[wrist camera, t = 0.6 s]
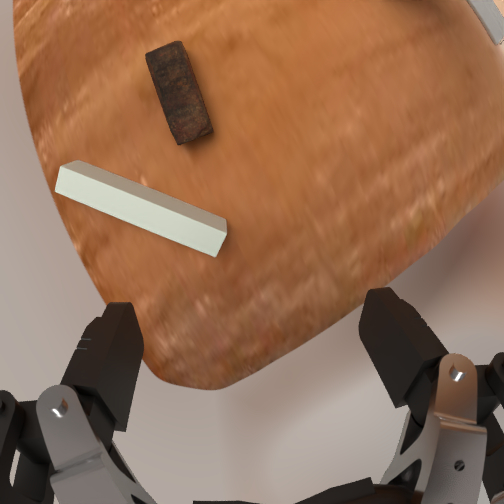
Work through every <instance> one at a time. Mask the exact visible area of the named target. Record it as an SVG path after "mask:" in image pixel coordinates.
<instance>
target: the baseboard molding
mask: <svg viewBox="0 0 504 504" xmlns="http://www.w3.org/2000/svg"><path fill="white" fill-rule="evenodd" d="M467 2H468V3H469V5H470V6H471V7H472V9H473V10H474V12H475V13H476V15H477V16H478V18H479V19H480V21H481V23H482V24H483V26H484V27H485V29H486V31H487V32H488V34H489V36H490V38H491V39H492V41H493V43H494V44H498V43H499V42H500V41H501V39H502V38H503V37H504V17H503V16H502V14H501V12H500V11H499V9H498V8H497V6H496V5H495V3H494V1H493V0H467ZM503 41H504V40H503ZM503 41H502V42H503ZM502 42H501V43H502Z"/></svg>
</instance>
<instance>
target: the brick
mask: <svg viewBox="0 0 504 504" xmlns="http://www.w3.org/2000/svg"><path fill="white" fill-rule="evenodd" d="M145 56H146V58H145V59H146V62H147V65H148V68H149V71H150V73H151V77H152V80H153V83H154V85H155V88H156V91H157V94H158V97H159V100H160V103H161V106H162V108H163V112H164V114H165V116H166V120H167V122H168V125H169V128H170V131H171V133H172V135H173V136H174V138H175V140H176V142H177V145H181V144H184V143H186V142H189V141H192V140H194V139H196V138H198V137H201V136H204V135H207V134H209V133H212V132H213V127H212V124H211V122H210V119H209V116H208V113H207V110H206V107H205V104H204V101H203V98H202V95H201V92H200V90H199V87H198V84H197V82H196V79H195V76H194V73H193V70H192V67H191V64H190V61H189V59H188V56H187V53H186V50H185V48H184V46H183V44H182V42H181V41H174V42H172V43H169V44H167V45H165V46H162V47H160V48H158V49H155V50H153V51H151V52H148V53H146V55H145Z"/></svg>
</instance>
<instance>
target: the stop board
mask: <svg viewBox="0 0 504 504" xmlns="http://www.w3.org/2000/svg"><path fill="white" fill-rule="evenodd" d="M55 192H57V193H59V194H62V195H64V196H66V197H69V198H71V199H73V200H76V201H78V202H81V203H83V204H85V205H88V206H90V207H92V208H95V209H97V210H100V211H102V212H104V213H107V214H109V215H112V216H114V217H117V218H119V219H121V220H124V221H126V222H129V223H131V224H134V225H136V226H139V227H141V228H143V229H146V230H148V231H151V232H153V233H156V234H158V235H161V236H163V237H166V238H168V239H171V240H173V241H176V242H178V243H181V244H183V245H186V246H188V247H191V248H193V249H196V250H198V251H201V252H203V253H206V254H209V255H211V256H214V257H216V256H217V253H218V251H219V249H220V247H221V245H222V243H223V241H224V239H225V237H226V235H227V224H226V219H224V218H222V217H219V216H217V215H215V214H212V213H210V212H207V211H205V210H203V209H200V208H198V207H195V206H193V205H191V204H188V203H186V202H183V201H181V200H178V199H176V198H173V197H171V196H169V195H166V194H164V193H161V192H159V191H156V190H154V189H151V188H149V187H146V186H144V185H141V184H139V183H136V182H134V181H131V180H129V179H126V178H124V177H121V176H119V175H116V174H114V173H111V172H109V171H106V170H104V169H101V168H98V167H96V166H93V165H91V164H88V163H86V162H83V161H80V160H76V161H73V162H71V163H68V164H65V165H62V166H60V170H59V175H58V179H57V183H56V188H55Z"/></svg>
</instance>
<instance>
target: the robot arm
mask: <svg viewBox="0 0 504 504" xmlns="http://www.w3.org/2000/svg"><path fill="white" fill-rule="evenodd" d="M359 335H360V339H361V341H362V343H363V345H364V346H365V348H366V350H367V352H368V354H369V356H370V358H371V360H372V362H373V364H374V366H375V368H376V370H377V372H378V374H379V376H380V378H381V380H382V382H383V383H384V386H385V388H386V390H387V392H388V394H389V396H390V398H391V400H392V402H393V404H394V406H395V408H398V407H402V406H405V405H408V407H409V409H410V410H409V411H408V413H407V415H406V419H405V423H404V426H403V430H402V433H401V437H400V440H399V443H398V446H397V449H396V452H395V456H394V458H393V460H392V462H391V464H390V466H389V467H388V469H387V470H386V472H385V473H384V475H383V477H382V479H381V481H380V484H373V483H372V480H371V477H368V478H365V479H362V480H359V481H355V482H352V483H348V484H345V485H341V486H336V487H333V488H330V489H327V490H325V491H323V492H321V493H319V494H316V495H314V496H312V497H310V498H307V499H305V500H303V501H300V502H298V503H295V504H477V501H478V496H479V492H480V486H481V481H483V483H484V486H485V489H486V492H487V495H488V498H489V501H490V504H504V433H503V431H502V429H501V428H500V425H499V423H498V422H497V419H496V418H495V416H494V414H493V412H494V410H495V409H496V408H497V407H498V406H499V405H500V404H501V405H502V407H503V409H504V352H500V353H498V354H496V355H495V356H494V358H493V360H492V361H491V363H490V364H489V365H474V364H473V363H472V362H471V360H469V359H468V358H467V357H465V356H463V355H461V354H455V353H453V354H449V352H448V351H447V350H446V348H445V347H444V346H443V344H442V343H441V342H440V340H439V339H438V338H437V336H436V335H435V334H434V332H433V331H432V330H431V328H430V327H429V326H427V323H426V322H425V321H424V320H423V318H421V316H420V314H419V313H418V312H417V311H416V309H415V308H414V307H413V306H411V305H410V304H409V303H407V302H406V301H404V300H403V299H399V297H398V296H397V295H396V294H395V292H394V291H393V290H392V289H391V288H390V287H385V288H376V289H370V290H369V291H368V292H367V295H366V299H365V303H364V306H363V311H362V314H361V318H360V322H359ZM143 351H144V342H143V336H142V333H141V330H140V327H139V324H138V320H137V317H136V314H135V310H134V307H133V305H132V303H130V302H110V303H109V304H108V305H107V307H106V309H105V311H104V313H103V315H102V317H96V318H95V319H94V320H93V321H92V322H91V323H90V324H89V325H88V326H87V327H86V329H85V331H84V333H83V335H82V337H81V340H80V341H79V343H78V345H77V350H75V351H74V353H73V356H72V358H71V360H70V362H69V364H68V367H67V369H66V371H65V374H64V376H63V378H62V381H61V383H60V385H54V386H51V387H49V388H47V389H46V390H45V391H44V392H43V393H42V394H41V395H40V396H39V398H38V400H34V401H23V402H18V401H17V400H16V399H15V398H14V397H13V395H12V394H11V393H10V392H8V391H5V390H0V504H53V502H54V494H55V495H56V497H57V500H58V502H59V504H157V503H156V502H155V501H154V499H153V498H152V497H151V496H150V495H149V494H148V493H147V492H146V491H145V489H144V488H143V487H142V486H141V484H140V483H139V482H138V480H137V479H136V477H135V476H134V474H133V473H132V471H131V470H130V468H129V466H128V465H127V463H126V462H125V460H124V458H123V457H122V455H121V453H120V452H119V450H118V448H117V447H116V445H115V443H114V442H113V440H112V438H113V432H114V430H115V431H122V432H126V428H127V422H128V418H129V413H130V408H131V404H132V399H133V394H134V390H135V385H136V381H137V377H138V373H139V368H140V364H141V360H142V356H143ZM16 449H17V450H18V451H19V452H20V457H19V461H18V465H17V470H16V474H15V480H14V484H13V487H12V486H11V483H10V479H9V478H10V477H9V476H10V471H11V467H12V462H13V458H14V454H15V450H16ZM193 504H258V503H250V502H244V501H193Z"/></svg>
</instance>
